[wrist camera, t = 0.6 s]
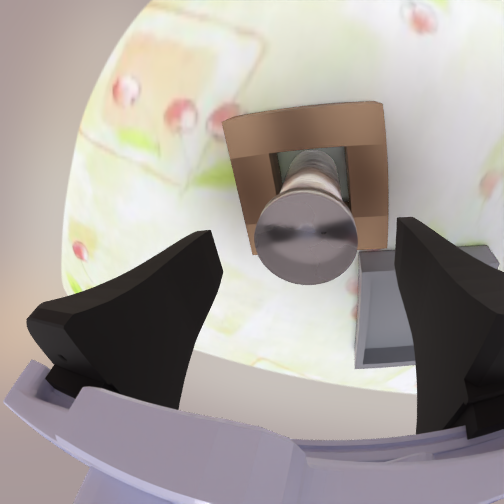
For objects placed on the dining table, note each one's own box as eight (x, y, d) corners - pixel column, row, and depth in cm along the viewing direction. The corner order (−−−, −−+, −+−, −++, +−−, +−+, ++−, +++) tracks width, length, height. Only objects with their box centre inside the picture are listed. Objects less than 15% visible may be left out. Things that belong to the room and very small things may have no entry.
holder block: (374, 101, 15) (382, 103, 13) (381, 229, 19) (387, 248, 17) (233, 116, 17) (221, 121, 15) (260, 236, 22) (252, 254, 20)
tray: (486, 245, 17) (499, 262, 15) (456, 339, 23) (462, 358, 21) (358, 252, 21) (361, 272, 18) (354, 348, 26) (354, 368, 24)
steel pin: (340, 141, 17) (356, 190, 9) (345, 198, 19) (357, 282, 11) (278, 147, 18) (244, 199, 10) (288, 203, 20) (263, 286, 12)
